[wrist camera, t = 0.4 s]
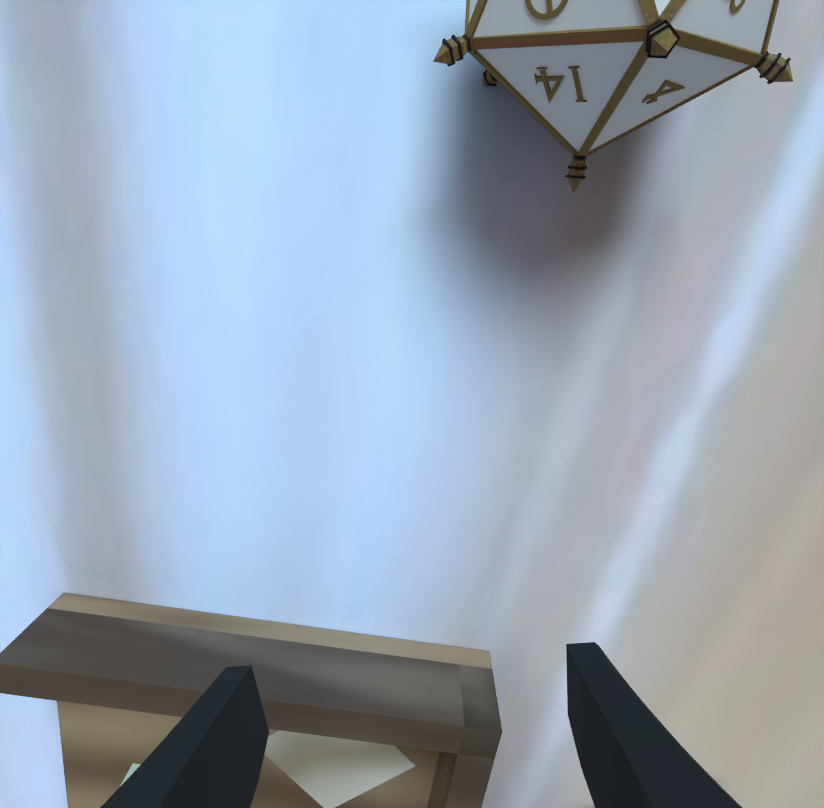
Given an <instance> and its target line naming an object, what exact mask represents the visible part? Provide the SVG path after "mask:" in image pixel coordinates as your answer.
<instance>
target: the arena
mask: <svg viewBox="0 0 824 808" xmlns="http://www.w3.org/2000/svg"><path fill="white" fill-rule="evenodd" d="M250 665H252V669H253V673H254V677H255V680H256V684H257V688H258V692H259V695H260V699H261V703H262V707H263V710H264V714H265V718H266V722H267V726H268V729H269V735H268V740H267V745H266V749H265V754H264V759H263V763H262V768H261V772H260V776H259V781H258V785H257V788H256V791H255V794H254V797H253V800H252V803H251V806H250V808H481V806H482V802H483V799H484V795H485V792H486V788H487V784H488V781H489V777H490V773H491V770H492V766H493V762H494V759H495V755H496V752H497V748H498V744H499V741H500V737H501V733H502V729H501V722H500V716H499V710H498V703H497V697H496V691H495V684H494V678H493V672H492V665H491V659H490V653H489V651H482V650H475V649H468V648H460V647H453V646H446V645H439V644H431V643H424V642H417V641H410V640H402V639H395V638H388V637H380V636H373V635H366V634H359V633H351V632H344V631H337V630H330V629H322V628H315V627H308V626H301V625H293V624H286V623H279V622H272V621H264V620H257V619H250V618H243V617H235V616H228V615H221V614H214V613H206V612H199V611H192V610H185V609H177V608H170V607H163V606H156V605H148V604H141V603H134V602H127V601H119V600H112V599H105V598H98V597H90V596H83V595H76V594H69V593H63V594H62V595H60V596H59V597H58V598H57V599H56V600H55V601H54V602H53V603H52V604H51V605H50V606H49V607H48V608H47V609H46V610H45V611H44V612H43V613H42V614H41V615H40V616H39V617H38V618H36V619H35V620H34V621H33V622H32V623H31V624H30V625H29V626H28V627H27V628H26V629H25V630H24V631H23V632H22V633H21V634H20V635H19V636H18V637H17V638H16V639H15V640H14V641H12V642H11V643H10V644H9V645H8V646H7V647H6V648H5V649H4V650H3V651H2V652H1V653H0V693H4V694H11V695H19V696H26V697H34V698H41V699H49V700H56V701H57V706H58V715H59V725H60V735H61V745H62V754H63V764H64V774H65V783H66V793H67V803H68V808H100V807H101V806H102V805H103V804H104V803H105V802H106V801H107V800H108V799H109V798H110V797H111V796H112V795H113V794H114V793H115V792H116V790H117V789H118V788H119V787H120V785H121V783H122V782H123V780H124V778H125V776H126V775H127V773H128V771H129V769H130V767H131V766H132V764H133V763H134V764H142V763H143V762H144V761H145V760H146V758H147V757H148V756H149V755H150V754H151V753H152V752H153V751H154V749H155V748H156V747H157V746H158V745H159V744H160V743H161V742H162V740H163V739H164V738H165V737H166V736H167V735H168V734H169V732H170V731H171V730H172V729H173V728H174V727H175V726H176V725H177V723H178V722H179V721H180V720H181V719H182V718H183V716H184V715H185V714H186V713H187V712H188V711H189V709H190V708H191V707H192V706H193V705H194V704H195V702H196V701H197V700H198V699H199V698H200V697H201V695H202V694H203V693H204V692H205V691H206V690H207V688H208V687H209V686H210V685H211V684H212V683H213V681H214V680H215V679H216V678H217V677H218V676H219V675H220V674H221V672H222V671H223V670H224V669H225V668H226V667H235V666H250Z"/></svg>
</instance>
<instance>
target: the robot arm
mask: <svg viewBox="0 0 824 808" xmlns="http://www.w3.org/2000/svg"><path fill="white" fill-rule="evenodd" d="M566 646H567V694H568V717H569V721H570V725H571V729H572V733H573V737H574V741H575V745H576V749H577V753H578V756H579V760H580V764H581V768H582V771H583V774H584V777H585V779H586V782H587V785H588V788H589V791H590V794H591V797H592V800H593V802H594V805H595V808H742V807H741V806H740V805H739V804H738V803H737V802H736V801H735V800H734V799H733V798H732V797H731V796H730V795H729V794H728V793H726V792H725V791H724V790H723V789H722V787H721V786H720V785H718V784H717V783H716V781H715V780H714V779H713V778H712V777H711V776H710V775H709V774H708V773H707V772H706V771H705V770H704V769H703V768H702V767H701V766H700V765H699V764H698V763H697V762H696V761H695V760H694V759H693V758H692V757H691V756H690V755H689V753H688V752H687V751H686V750H685V749H684V748H683V747H682V746H681V745H680V744H679V743H678V742H677V740H676V739H675V738H674V737H673V736H672V735H671V734H670V733H669V731H668V730H667V729H666V728H665V727H664V726H663V725H662V724H661V722H660V721H659V720H658V719H657V718H656V717H655V716H654V714H653V713H652V712H651V711H650V710H649V709H648V707H647V706H646V705H645V704H644V703H643V702H642V700H641V699H640V698H639V697H638V696H637V694H636V693H635V692H634V691H633V689H632V688H631V687H630V686H629V684H628V683H627V682H626V681H625V680H624V678H623V677H622V676H621V674H620V673H619V672H618V671H617V669H616V668H615V667H614V665H613V664H612V663H611V661H610V660H609V659H608V658H607V656H606V655H605V653H604V652H603V651H602V649H601V648H600V647H599V646H598V645H597V644H596V643H595V642H591V643H576V644H566ZM268 735H269V729H268V726H267V722H266V718H265V714H264V710H263V707H262V703H261V699H260V695H259V692H258V688H257V684H256V680H255V677H254V673H253V669H252V665H250V666H235V667H226V668H225V669H224V670H223V671H222V672H221V674H220V675H219V676H218V677H217V678H216V679H215V680H214V681H213V683H212V684H211V685H210V686H209V687H208V688H207V690H206V691H205V692H204V693H203V694H202V695H201V697H200V698H199V699H198V700H197V701H196V702H195V704H194V705H193V706H192V707H191V708H190V709H189V711H188V712H187V713H186V714H185V715H184V716H183V718H182V719H181V720H180V721H179V722H178V723H177V725H176V726H175V727H174V728H173V729H172V730H171V731H170V732H169V734H168V735H167V736H166V737H165V738H164V739H163V740H162V742H161V743H160V744H159V745H158V746H157V747H156V748H155V749H154V751H153V752H152V753H151V754H150V755H149V756H148V757H147V758H146V760H145V761H144V762H143V763H142V764H141V765H140V766H139V767H138V768H137V769H136V770H135V771H134V772H133V773H132V775H131V776H130V777H129V778H128V779H127V780H126V781H125V782H124V783H123V784H122V785H121V786H120V787H119V788H118V789H117V790H116V792H115V793H114V794H113V795H112V796H111V797H110V798H109V799H108V800H107V801H106V802H105V803H104V804H103V805H102V806H101V807H100V808H250V806H251V803H252V800H253V797H254V794H255V791H256V788H257V785H258V781H259V776H260V772H261V768H262V763H263V759H264V754H265V749H266V745H267V740H268Z"/></svg>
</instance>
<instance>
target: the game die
mask: <svg viewBox="0 0 824 808" xmlns="http://www.w3.org/2000/svg"><path fill="white" fill-rule="evenodd" d="M778 4H779V0H467V2H466V20H465V34H464V35H463V36H462V37H455V35H452V37H451V39H449V40H447V41H446V39H443V42H442V46H441V48H440V50H439V51H438V53H437V55H436V57H435V59H434V62H439V63H445V64H447V65H448V66H451V65H454V64H455V61H459V60H462V59H464V58H463V56H464V55H465V54H466V53H467V52H469V53H470V54H471V55H472V56H473V57H474V58H475V59H476V60H477V61H478V62H479V63H480V64H481V65H482V66H483V67H484V68H485V69H486V71H485V72H484V73H483V76H484V78H483V84H482V85H488V86H497V82H500V83H501V84H502V85H503V86H504V87H505V88H506V89H507V90H508V91H509V92H510V93H511V94H512V95H513V96H514V97H515V98H516V99H517V100H518V101H519V102H520V103H521V104H522V105H523V106H524V107H525V108H526V109H527V110H528V111H529V112H530V113H531V114H532V115H533V116H534V117H535V118H536V119H537V120H538V121H539V122H540V123H541V124H542V125H543V126H544V127H545V128H546V129H547V130H548V131H549V132H550V133H551V134H552V135H553V136H554V137H555V138H556V139H557V140H558V141H559V142H560V143H561V144H562V145H563V146H564V147H565V148H566V149H567V150H569V151H570V152H571V153H572V154H573V161H572V163H571V165H570V166H568V168H569V172H568V175H566V176H565V177H568V180H569V182H570V185H571V187H572V190H573V192H574V191H575V189H576V188H577V187H578V185H579V184H580V182H581V181H582V180H583V179H585V177H586V176H584V174H585V169H587V167H586V166H585V159H586V157H587V156H588V155H590V154H592V153H593V152H595V151H597V150H599V149H601V148H603V147H605V146H606V145H608V144H610V143H612V142H614V141H616V140H618V139H620V138H621V137H623V136H625V135H627V134H629V133H631V132H633V131H635V130H636V129H638V128H640V127H642V126H644V125H646V124H648V123H650V122H651V121H653V120H655V119H657V118H659V117H661V116H663V115H665V114H666V113H668V112H670V111H672V110H674V109H676V108H678V107H679V106H681V105H683V104H685V103H687V102H689V101H691V100H693V99H694V98H696V97H698V96H700V95H702V94H704V93H706V92H708V91H709V90H711V89H713V88H715V87H717V86H719V85H721V84H723V83H724V82H726V81H728V80H730V79H732V78H734V77H736V76H738V75H739V74H741V73H743V72H745V71H747V70H749V69H751V68H752V67H754V68H757V70H758V71H759V73H760V74H761V75H760V76H759V77H760V78H763V77H764V78H766V79H767V80H768V82H767V83H768V84H770V83H773V82H789V81H793V79H792V74H791V70H790V65H789V61H790V58H788V59H787V60H786V59H784V58H782V57H781V53H779V54H778V55H775V54H769V53H768V51H767V48H768V44H769V40H770V36H771V32H772V28H773V24H774V20H775V16H776V12H777V8H778Z"/></svg>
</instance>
